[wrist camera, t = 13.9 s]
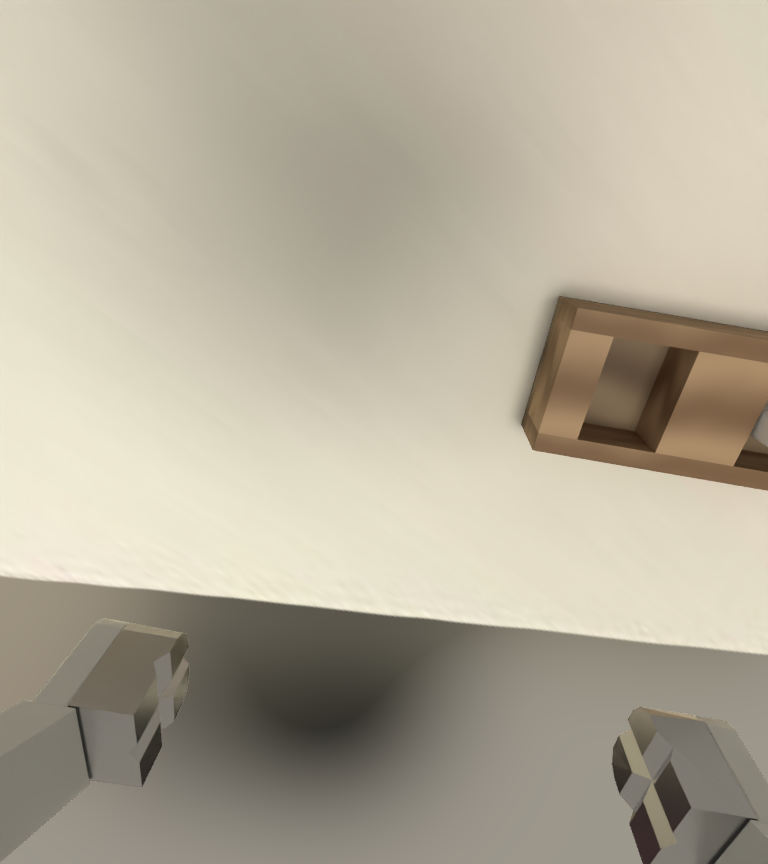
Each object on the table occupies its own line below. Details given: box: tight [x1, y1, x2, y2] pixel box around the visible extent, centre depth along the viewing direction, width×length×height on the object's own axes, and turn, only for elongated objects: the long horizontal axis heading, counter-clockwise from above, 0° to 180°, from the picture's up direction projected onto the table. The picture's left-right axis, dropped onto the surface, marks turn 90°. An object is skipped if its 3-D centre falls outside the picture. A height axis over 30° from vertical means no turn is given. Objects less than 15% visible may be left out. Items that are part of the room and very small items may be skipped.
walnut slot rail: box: [521, 296, 768, 491], centre depth 38 cm, size 11×24×5 cm, turn 81°
